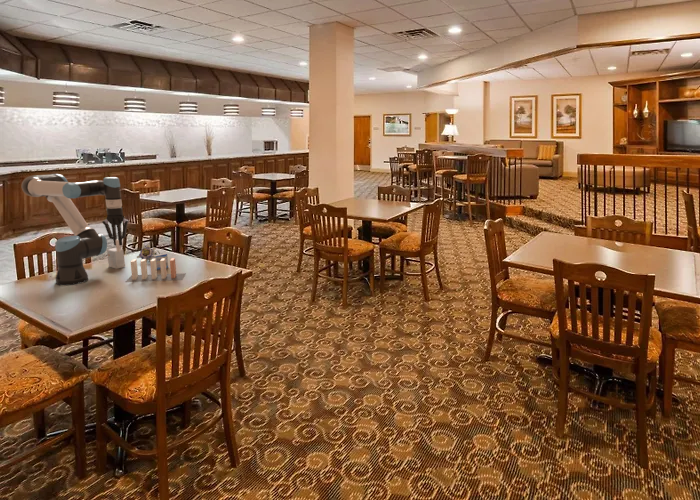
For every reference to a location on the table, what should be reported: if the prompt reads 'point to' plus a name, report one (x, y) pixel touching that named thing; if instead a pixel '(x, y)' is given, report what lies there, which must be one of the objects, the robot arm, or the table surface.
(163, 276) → the domino
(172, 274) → the terracotta domino
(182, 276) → the domino mat
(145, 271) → the domino
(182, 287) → the table surface
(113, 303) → the table surface
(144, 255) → the passion flower
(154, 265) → the domino
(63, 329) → the table surface
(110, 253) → the small box
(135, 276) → the domino
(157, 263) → the medicine box
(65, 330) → the table surface
